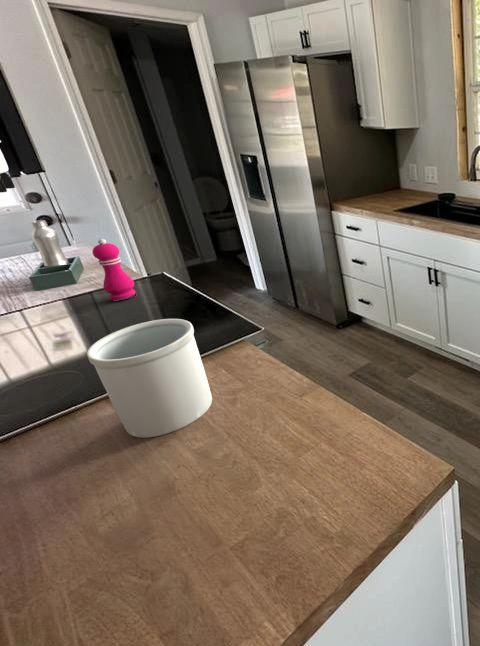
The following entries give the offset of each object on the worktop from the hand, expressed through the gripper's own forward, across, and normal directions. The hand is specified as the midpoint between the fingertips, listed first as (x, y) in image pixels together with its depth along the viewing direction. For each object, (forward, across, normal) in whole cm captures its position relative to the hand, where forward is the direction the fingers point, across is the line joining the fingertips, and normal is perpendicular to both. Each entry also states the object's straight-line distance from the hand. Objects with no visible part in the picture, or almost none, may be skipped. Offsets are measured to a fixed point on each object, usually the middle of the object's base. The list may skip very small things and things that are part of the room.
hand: (4, 190), depth 141 cm
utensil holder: (+31, +125, +38) cm, 134 cm away
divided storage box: (+32, +8, +6) cm, 33 cm away
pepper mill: (+31, +45, +26) cm, 61 cm away
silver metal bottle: (+31, +4, +6) cm, 32 cm away
